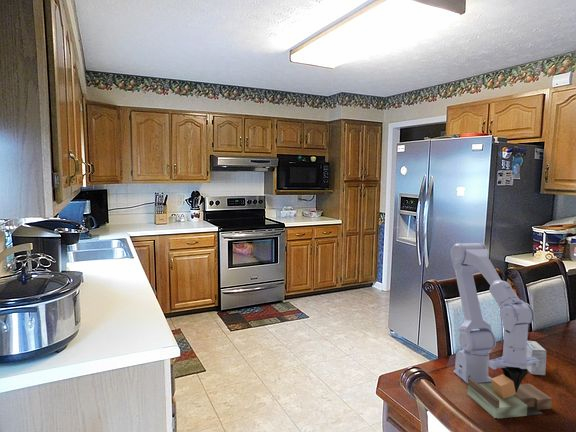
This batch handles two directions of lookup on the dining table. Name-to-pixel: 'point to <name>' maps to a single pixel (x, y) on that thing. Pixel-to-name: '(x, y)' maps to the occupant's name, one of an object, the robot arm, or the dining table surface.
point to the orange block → (503, 386)
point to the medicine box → (539, 354)
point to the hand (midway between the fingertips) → (512, 390)
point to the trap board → (509, 400)
